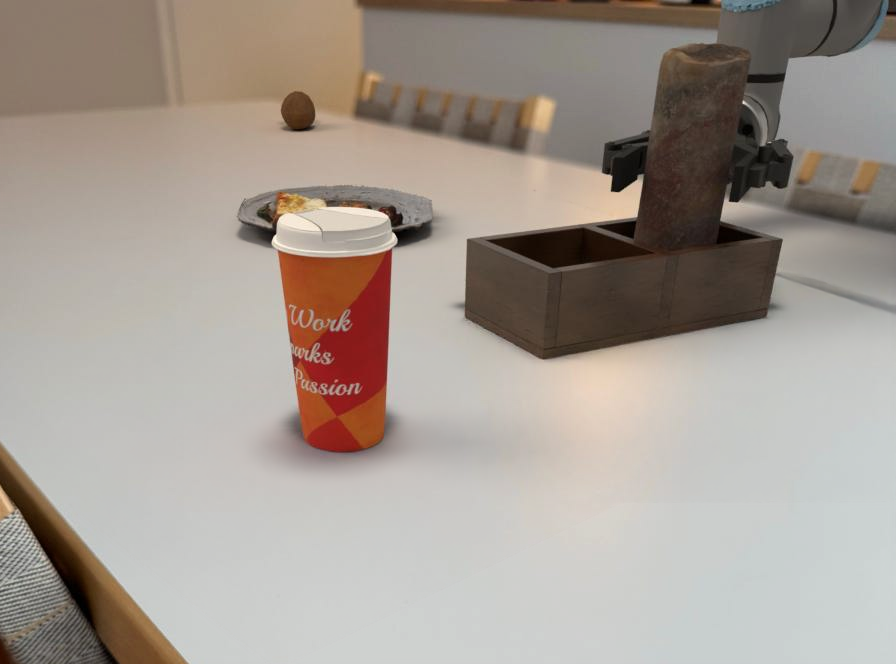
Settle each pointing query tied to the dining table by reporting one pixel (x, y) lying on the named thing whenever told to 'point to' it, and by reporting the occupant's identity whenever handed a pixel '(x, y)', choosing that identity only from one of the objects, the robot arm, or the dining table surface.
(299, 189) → the food plate
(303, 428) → the paper cup
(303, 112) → the potato
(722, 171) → the candle
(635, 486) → the dining table surface
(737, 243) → the brown wooden divided box
